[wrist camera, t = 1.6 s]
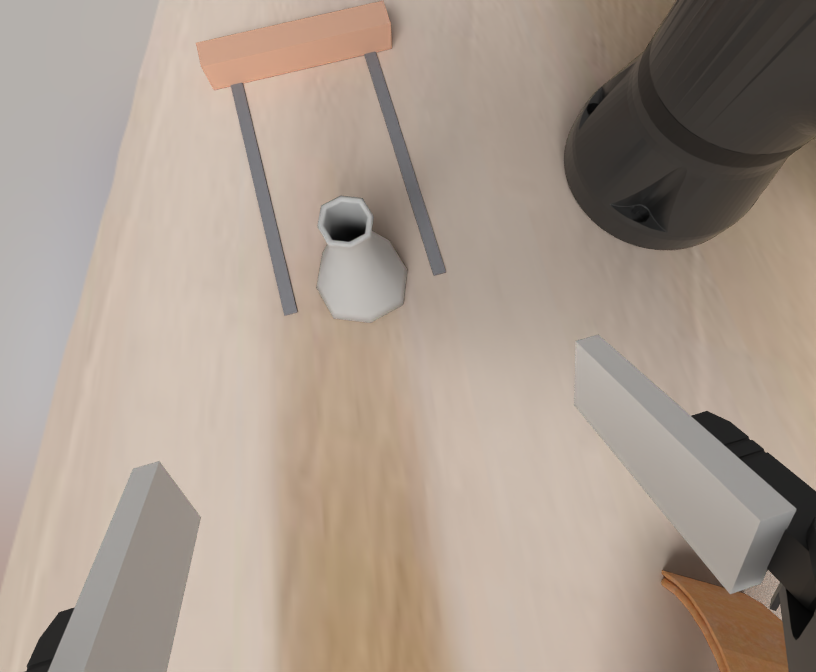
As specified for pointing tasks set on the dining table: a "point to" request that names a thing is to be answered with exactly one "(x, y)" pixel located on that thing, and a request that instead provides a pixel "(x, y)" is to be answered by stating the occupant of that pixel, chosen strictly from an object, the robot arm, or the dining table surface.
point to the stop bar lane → (295, 51)
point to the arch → (733, 626)
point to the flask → (357, 264)
